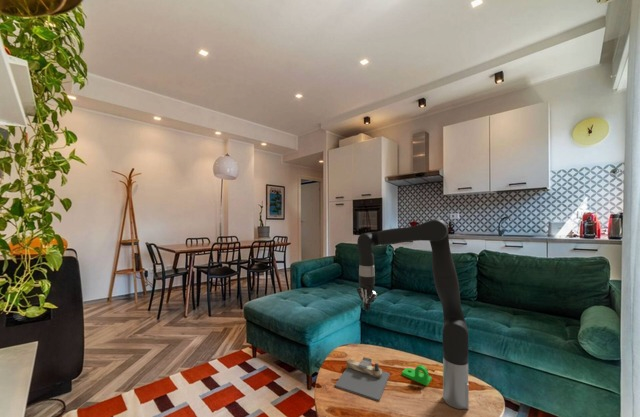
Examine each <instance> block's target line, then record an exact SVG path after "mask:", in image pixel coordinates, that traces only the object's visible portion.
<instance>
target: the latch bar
mask: <svg viewBox="0 0 640 417" xmlns="http://www.w3.org/2000/svg"><path fill="white" fill-rule="evenodd" d="M360 362H361V361H357V360H352V359H351V358H348V359H347V361H346V368H347V367H349V368H352V369H354V370H357V371H360V372H363V373H366V374H369V375H372V376H373V377H375V378H380V377H381V376H382V371H383V369H382V368H380V365H379V363H378V362H375V363H374V366H368V368H367V369H365V368H361V367H359V364H360Z"/></svg>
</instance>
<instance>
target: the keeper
mask: <svg viewBox="0 0 640 417" xmlns="http://www.w3.org/2000/svg"><path fill="white" fill-rule="evenodd" d="M359 362H360V364H359V367H361V368H365V369H367V368H368V366H372V364H373V362H372V358H370V357H365V356H363V358H362V359H361V360H360V361H359ZM372 367H373V366H372Z"/></svg>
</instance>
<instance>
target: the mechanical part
mask: <svg viewBox="0 0 640 417" xmlns="http://www.w3.org/2000/svg"><path fill="white" fill-rule="evenodd" d="M401 376H404V377H406V378H408V379H410V380H412V381H415V382H416V383H419V384H421V385H422V386H423V385H424V386H425V387H427V386H428V385H429V384H430V382H432V380H433V377H432V376H431V375H429V371H428V369H427V367H426V366H425V365H423V364H419V365H417V366H416V367H415V369H414V368H411V367H407V368H404V369H403V370H402V371H401Z"/></svg>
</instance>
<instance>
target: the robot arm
mask: <svg viewBox="0 0 640 417" xmlns="http://www.w3.org/2000/svg"><path fill="white" fill-rule="evenodd" d="M449 237H450V236H449V226H448V224H447V222H445V221H444V220H442V219H439V218H433V219H430V220H428V221H427V222H423V223H420V224H417V225H413V226H407V227H398V228H397V227H396V228H395V227H394V228H389V229H382V230H380V231H371V232H370V231H369V232H365V233H360V235H358V237H357V250H358V254H359V265H358V266H359V268H358V284H359V287H358V288H356V292H357V293H358V295H359V296H358V297H359V298H360V300H361V301H362V302H363V309H364V311H366V312H369V311H370V310H371V303H374V302H375V301H376V299H377V298H378V297H379V294H378V292H377V293H376V291H375V288H374V286H375V284H376V280H375V279H376V275H375V274H376V273H375V272H376V269H375V255H374V253H373V252H372V247H376V246H389V245H390V246H391V245H396V244H401V243H408V242H418V241H425V242H427V241H429V243H430V247H431V254H432V258H431V260H432V262H431V263H432V264H431V265H432V266H431V267H432V268H431V269H432V278H433V282H434V287H435V289H436V294H437V296H438V298H439V300H440V303H441V306H442V314H443V315H442V316H443V327H442V376H443V377H442V397H443V401H444V402H445V403H446V404H447V405H448V406H450V407H452V408H454V409H458V410H469V408H470V407H469V398H470V396H469V394H470V392H469V391H470V390H469V328H468V325H467V322H466V319H465V316H464V313H463V309H462V306H461V305H462V304H461V303H462V302H461V293H460V292H461V291H460V283H459V278H458V273H457V270H456V269H457V268H456V266H455V262H454V259H453V256H452V252H451V248H450V247H451V246H450V239H449Z"/></svg>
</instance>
